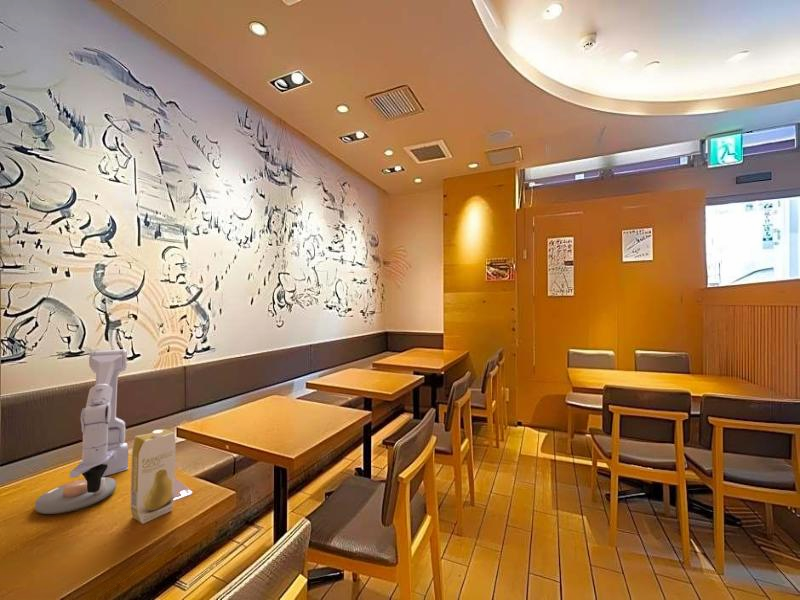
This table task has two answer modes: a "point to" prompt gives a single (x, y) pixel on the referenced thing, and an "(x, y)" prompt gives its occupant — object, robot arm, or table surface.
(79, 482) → the pink rounded disc
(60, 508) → the turntable
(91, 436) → the robot arm
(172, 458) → the juice carton
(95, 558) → the table surface
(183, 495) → the mobile phone
